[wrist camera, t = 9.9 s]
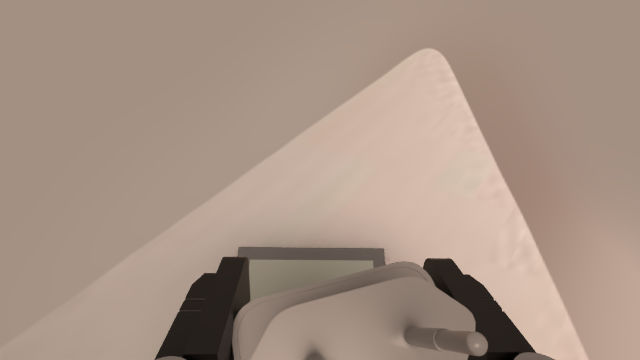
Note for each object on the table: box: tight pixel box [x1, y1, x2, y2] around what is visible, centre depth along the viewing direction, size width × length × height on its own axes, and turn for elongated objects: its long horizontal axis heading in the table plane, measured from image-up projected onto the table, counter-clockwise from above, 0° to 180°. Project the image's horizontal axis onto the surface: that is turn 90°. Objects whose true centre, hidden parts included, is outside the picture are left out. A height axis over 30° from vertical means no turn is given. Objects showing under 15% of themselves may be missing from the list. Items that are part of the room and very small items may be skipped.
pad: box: [238, 247, 385, 302], centre depth 24 cm, size 12×12×1 cm
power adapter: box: [232, 262, 488, 360], centre depth 9 cm, size 3×5×12 cm, turn 104°
